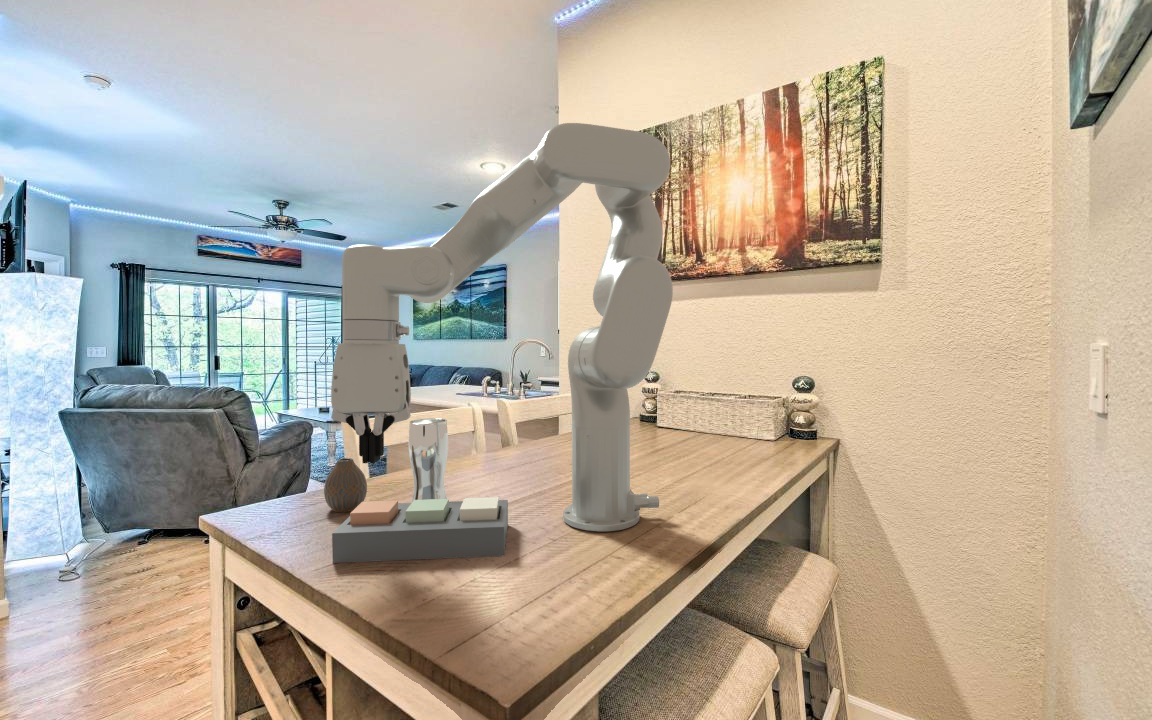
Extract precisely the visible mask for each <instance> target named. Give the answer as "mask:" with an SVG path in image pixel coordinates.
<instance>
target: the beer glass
mask: <svg viewBox="0 0 1152 720" xmlns="http://www.w3.org/2000/svg"><path fill="white" fill-rule="evenodd" d="M408 426H409V429H408V455H409V461H410V467H411V471H412V472H411V473H412V477H413V492H412V499H411V503H412V502H413V500H427V499H448V498H447V494H446V488H445V476H446V475H445V474H446V468H447V462H448V454H449V433H448V424H447V419H446V418H439V417H437V418H436V417H435V418H434V417H433V418H431V417H430V418H417V419H413V420H410V421H409V425H408Z"/></svg>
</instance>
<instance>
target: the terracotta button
mask: <svg viewBox="0 0 1152 720" xmlns="http://www.w3.org/2000/svg"><path fill="white" fill-rule="evenodd" d="M398 503H399V500H374V501H372V500H370V501H365V500H364V501H363V502H361V503H360V504H359V505H358V506H357V507H356V508H355V509H354V510H352V511H350V515H349V516H350V525H359V524H387V523H392V521H393V520H394V519H395V517H396V516H397V515H398Z"/></svg>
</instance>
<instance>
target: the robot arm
mask: <svg viewBox="0 0 1152 720" xmlns="http://www.w3.org/2000/svg"><path fill="white" fill-rule="evenodd" d="M670 170H671V157H670V154H669V152H668V149H667V148H666V146H665V144H664V143H663V142H662V141H661V140H660V139H659V138H657V137H655V136H653V135H651V134H649V133H646V132H643V131H640V130H639V131H638V130H631V129H626V128H625V129H624V128H618V127H611V126H605V125H597V124H591V123H590V124H589V123H583V122H582V123H581V122H565V123H560V124H556V125H554V126H552V127H551V128H550V129H549V130H548V131H546V133H545V134H544V136H543V138H542V139H541V141H540V143H539V144H538V146H537V148H535V150H533V151H532V152H531V153H529V155H527V156H526V157H524V158H523V159H522V160H521V161H520V162H519V163H517V164H516V165H514V167H512V168H511V169H510V170H508V171H507V172H506V173H505V174H503V175H502V176H501V177H499V178H498V179H497V180H496V181H494V182H493V183H492V184H490V185H489V186H487V187H486V188H485V189H484V190H483V191H482V192H480V194H479V195H477V197H476V198H475V199H474V200H473V201H472V202H471V204H470V205H469V206H468V207H467V210H466V211H465V212H464V213H463V214H462V216H461V218H459V220H458V221H457V222H456V223H455V224H454V225H453V227H451V228H450V229H449V230H448V231H447V232H445V234H444V235H442V236H441V237H440V238H439V239H438V240H437V241H435V242H434V243H433V244H431V245H412V246H400V247H398V246H397V247H386V246H381V245H376V244H375V245H373V244H353V245H350V246H348V247H346V248H345V249H344V250H343V252H342V253H343V254H342V257H341V260H342V261H341V264H342V265H341V266H342V267H341V268H342V269H341V271H342V272H341V273H342V274H341V275H342V277H341V279H342V282H341V284H342V287H341V289H342V296H341V297H342V300H341V301H342V305H341V306H342V314H341V315H342V320H341V321H342V343H337V347H336V350H335V354H334V355H335V357H334V360H333V368H332V375H331V376H332V377H331V391H330V397H331V398H330V400H331V401H330V402H331V403H330V404H331V408H332V413H331V417H330V418H331V420H333V421H335V422H340V423H344V424H347V425H349V427H351V428H352V429H353V430H354V431H355V434H356V435H357V436H358V452H359V454H358V455H359V457H362V464H368V463H370V464H376V463H377V462H378V461H379V460H381V457H382V456H383V455H384V453H385V449H384V448H385V442H384V441H385V437H384V435H385V432H386V431H387V430H388V429H389V428H390V427H391V426H392V425H393V424H395V423H400V422H404V421H407V420H410V418H411V416H412V415H411V411H410V408H409V407H410V406H411V400H412V398H411V396H412V392H411V391H412V390H411V376H410V367H409V364H410V363H409V358H408V353H407V352H408V351H407V347H406V344H405V343H400V340H401V338H402V337H405V336H410V327H409V326H408V325H407V326H405V325H403V324H401V322H400V296H407V297H408V296H409V297H410V298H411V299H413V300H414V301H417V302H419V303H422V304H431V303H435V302H438V301H440V300H442V299H443V298H445V297H446V296H447V295H448V294H450V293H451V292H452V291H453V290H455V289H456V288H457V287H458V286H459V285H460V284H462V283H463V282H464V281H465V280H466V279H468V278H469V277H470V276H471V275H472V274H474V273H475V272H476V271H477V270H478V269H479V268H481V267H482V266H484V265H485V264H486V263H487V262H488V261H489V260H491V259H492V258H494V257H495V256H496V255H498V254H500V252H502V251H504V250H505V249H507V248H508V247H509V246H510V245H511V244H512V243H513V242H515V241H516V240H517V239H519V238H520V237H521V236H522V235H524V234H525V233H526V232H527V231H528V230H529V229H530V228H532V227H533V226H534V225H535V224H537V222H540V220H542V219H543V218H544V217H545V216H546V215H547V214H549V212H551V211H552V210H554V209H555V208H556V207H557V206H559V205H561V203H562V202H564V200H566V199H567V198H568V197H569V196H571V195H572V194H573V193H574V192H575V191H576V190H577V189H578V188H579V187H580V186H581V185H582V184H583V183H584V184H589V185H594V188H595V192H596V195H597V198H598V200H599V201H600V203H601V205H602V206H603V207H604V209H605V210H606V212H607V214H608V216H609V220H610V224H611V230H610V231H611V233H610V237H609V240H608V245H607V248H606V250H605V254H604V257H603V260H602V263H601V266H600V270H599V273H598V275H597V277H596V281H595V284H594V287H593V293H592V300H593V305H594V308H595V310H596V312H597V313H598V314H599V315H600V316H601V317H602V319H601V322H600V325H599V326H594V327H593V326H592V327H589V328H587V329H584V330H582V332H580V333H579V334H578V335H577V336H576V337H575V338H574V340H573V341H572V342H571V345H570V347H569V350H568V356H567V368H568V370H567V371H568V379H569V384H570V385H569V387H570V395H571V396H570V398H571V483H572V484H571V492H572V493H571V504H570V505H567V506H566V507H565V508H564V509H563V511H562V520H563V521H564V523H565V524H567V525H569V526H570V527H572V528H575V529H578V530H582V531H589V532H597V533H598V532H599V533H600V532H604V533H605V532H615V531H622V530H627V529H629V528H631V527H633V526H635V525H637V524H638V522H639V521H640V511H641V509H643V508H644V509H646V508H648V509H659V508H660V498H659V496H658V495H648V493H636V494H635V493H634V492H633V491H632V489H631V460H630V459H631V457H630V456H631V443H630V442H631V427H630V426H631V407H630V399H629V398H630V397H629V392H628V389H630V388H634V387H635V386H637V385H639V384H640V383H641V382H642V381H643V380H644V379H645V378H646V377H647V375H648V374H649V372H650V370H651V368H652V366H653V364H654V361H655V358H656V356H657V352H658V349H659V345H660V343H661V339H662V336H663V333H664V330H665V326H666V323H667V320H668V317H669V313H670V310H671V306H672V302H673V296H674V295H673V294H674V291H673V290H674V287H673V280H672V277H671V274H670V272H669V271H668V269H667V267H666V266H665V264H663V263H662V262H661V261H659V260H658V259H659V258H658V257H659V254H660V251H661V247H662V242H663V241H662V240H663V233H664V232H663V224H662V219H661V217H660V215H659V212H658V210H657V207H656V205H655V203H654V201H653V200H652V198H651V196H650V195H651V194H653V193H654V192H656V191H657V190H658V189H660V188H661V187H662V185H664V183H665V182H666V180H667V179H668V176H669V175H670ZM369 414H374V415H375V416H374V419H373V420H374V422H373V429H372V428H371V422H370V417H369Z"/></svg>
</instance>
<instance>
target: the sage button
mask: <svg viewBox="0 0 1152 720" xmlns="http://www.w3.org/2000/svg"><path fill="white" fill-rule="evenodd" d="M449 502H450V498H447V499H427V500H413V502H412V501H411V502H410V503H411V504H410V506H409V507H408V509H407V510H406V511H405V513H406V523H414V522H442V521H446V520H447V518H448V515H449Z"/></svg>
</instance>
